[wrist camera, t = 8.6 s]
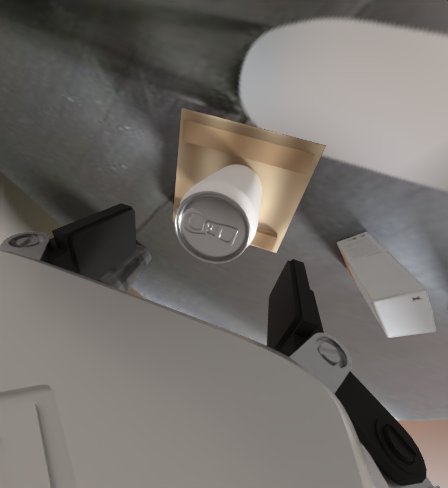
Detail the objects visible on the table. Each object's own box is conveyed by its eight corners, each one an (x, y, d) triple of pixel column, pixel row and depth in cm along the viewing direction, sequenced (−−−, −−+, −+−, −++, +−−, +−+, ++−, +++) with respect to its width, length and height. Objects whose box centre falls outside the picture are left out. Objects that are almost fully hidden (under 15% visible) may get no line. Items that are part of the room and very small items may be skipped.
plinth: (317, 144, 22) (329, 145, 18) (275, 239, 30) (276, 258, 25) (194, 112, 23) (175, 105, 19) (183, 211, 31) (167, 224, 26)
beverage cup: (119, 240, 37) (-8, 324, 20) (149, 236, 35) (35, 327, 18) (134, 269, 40) (36, 362, 23) (162, 267, 38) (77, 369, 21)
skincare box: (334, 241, 28) (372, 300, 18) (367, 230, 26) (429, 288, 16) (347, 271, 30) (387, 339, 20) (378, 262, 28) (440, 332, 18)
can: (220, 155, 22) (176, 169, 11) (271, 174, 21) (273, 206, 11) (206, 205, 25) (163, 249, 15) (250, 222, 25) (237, 279, 15)
